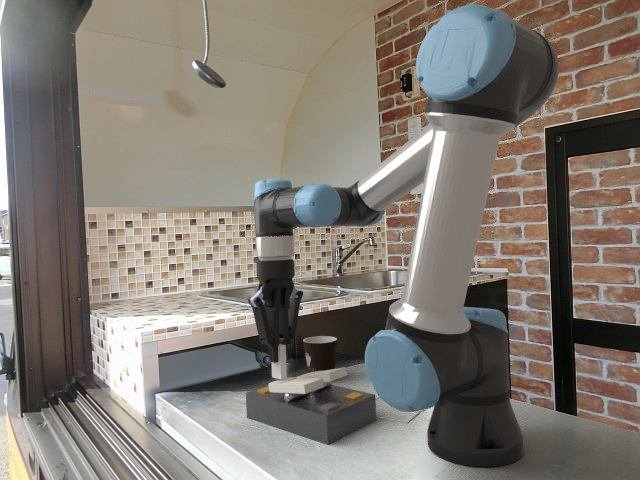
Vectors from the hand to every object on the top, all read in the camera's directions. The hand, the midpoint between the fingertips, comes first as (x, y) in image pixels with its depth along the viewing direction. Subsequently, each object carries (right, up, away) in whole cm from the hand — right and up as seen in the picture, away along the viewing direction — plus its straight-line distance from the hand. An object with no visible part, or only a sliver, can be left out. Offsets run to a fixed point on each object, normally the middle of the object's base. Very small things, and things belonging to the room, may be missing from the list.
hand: (279, 377), depth 98 cm
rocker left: (+3, -1, -3) cm, 5 cm away
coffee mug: (+9, -8, +29) cm, 31 cm away
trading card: (+25, -8, +7) cm, 27 cm away
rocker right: (+8, 0, +2) cm, 8 cm away
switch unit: (+6, -8, -1) cm, 10 cm away
